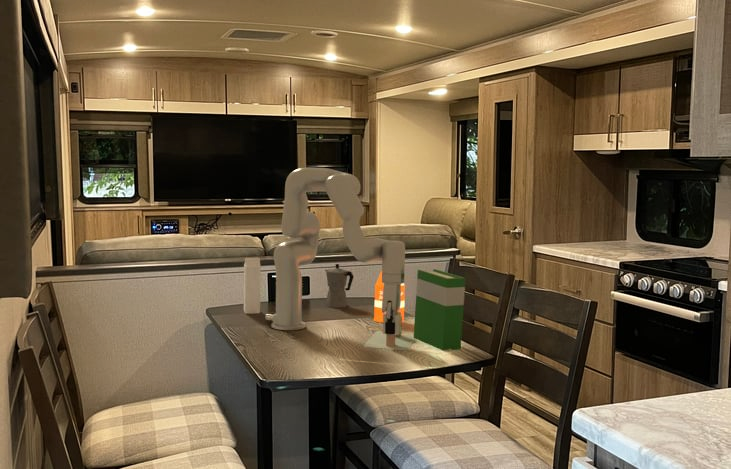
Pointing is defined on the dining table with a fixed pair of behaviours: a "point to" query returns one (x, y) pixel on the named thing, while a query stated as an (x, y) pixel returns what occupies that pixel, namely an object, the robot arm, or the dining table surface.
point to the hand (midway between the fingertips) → (391, 331)
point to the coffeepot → (337, 287)
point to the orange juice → (378, 300)
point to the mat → (400, 344)
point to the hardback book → (439, 309)
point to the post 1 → (390, 340)
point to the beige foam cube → (397, 323)
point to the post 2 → (401, 330)
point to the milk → (252, 285)
